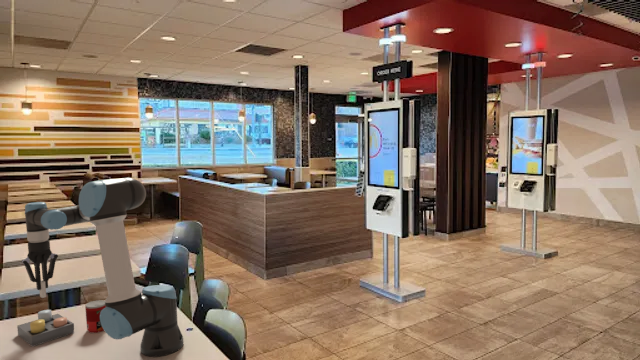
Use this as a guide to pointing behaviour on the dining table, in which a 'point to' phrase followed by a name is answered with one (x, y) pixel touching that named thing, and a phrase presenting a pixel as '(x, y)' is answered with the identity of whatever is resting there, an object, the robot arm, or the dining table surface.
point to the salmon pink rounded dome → (60, 322)
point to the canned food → (94, 316)
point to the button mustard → (37, 326)
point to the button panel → (45, 335)
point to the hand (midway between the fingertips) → (43, 296)
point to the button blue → (45, 315)
